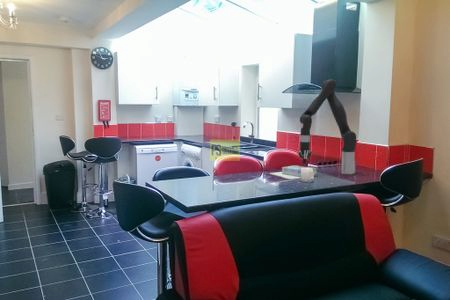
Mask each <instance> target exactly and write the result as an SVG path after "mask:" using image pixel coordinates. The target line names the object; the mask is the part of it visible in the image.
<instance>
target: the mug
mask: <svg viewBox="0 0 450 300" xmlns="http://www.w3.org/2000/svg"><path fill="white" fill-rule="evenodd" d="M313 168H314V167H308V166H303V167H302V168H301V178H300V181H301V182H303V183H311V182H313V180H314V179H315V178H314V177H315V175H314V172H313Z"/></svg>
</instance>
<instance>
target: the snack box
mask: <svg viewBox="0 0 450 300" xmlns="http://www.w3.org/2000/svg"><path fill="white" fill-rule="evenodd" d="M302 167H304V165H303V166H301V165H295V164H294V165H289V166H282V167H281V172H282V174H287V175H293V176H300V177H301V168H302ZM312 168H313V172H314V176H316V175H317V172H318V171H317V170H318V169H317V168H315V167H312Z"/></svg>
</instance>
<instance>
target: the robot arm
mask: <svg viewBox="0 0 450 300" xmlns="http://www.w3.org/2000/svg"><path fill="white" fill-rule="evenodd" d="M336 89H337V82H336V80H335V79H326V80H324V81H323V82H322V83H321V92H320V93H319V94H318V95H317V96H316V97H315V99H313V101H312V102H311V103H310V104H309V106H308V108H307V109H306V110H305V111H304V112H303V113H302V114H301V115H300V117H299V122H300V124H302V127H301V129H300V136H299V148H300V149H299V151H297V152H296V153H297V155H298V156H299V158H300V159H301V161H302V162H301V163H302V164H304V165H306V164H307V159H309V158H310V157H311V156H312V153H313V151H312V150H311V149H310V147H311V127H312V123H313V118H312V117H313V116H314V115H316V113H317V112H318V111H319V109H320V108H321V106H322V105H323V104H324V102H325V101H327V102H328V105H329V108H330V110H331V113H332V116H333V118H334V120H335V122H336V125H337V127H338V129H339V133H340V136H341V140H342V141H343V147H342V148H341V149H342V150H341V172H340V173H341V174H343V175H354V174H356V173H355V171H356V161H355V154H356V146H357V135H356V133H355V131H352V130H351V129H350V126H349V124H348V117H347V112H346V110H345V107H344V105H343V103H342V102H341V101H340V100H339V98H338V97H337V95H336V92H335V90H336Z"/></svg>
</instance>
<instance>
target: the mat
mask: <svg viewBox="0 0 450 300" xmlns="http://www.w3.org/2000/svg"><path fill="white" fill-rule="evenodd" d="M268 174H269V175H271V176H276V177H278V178H283V179H287V180H301V177H300V176H293V175H287V174H282V171H279V172H269V173H268Z"/></svg>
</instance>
